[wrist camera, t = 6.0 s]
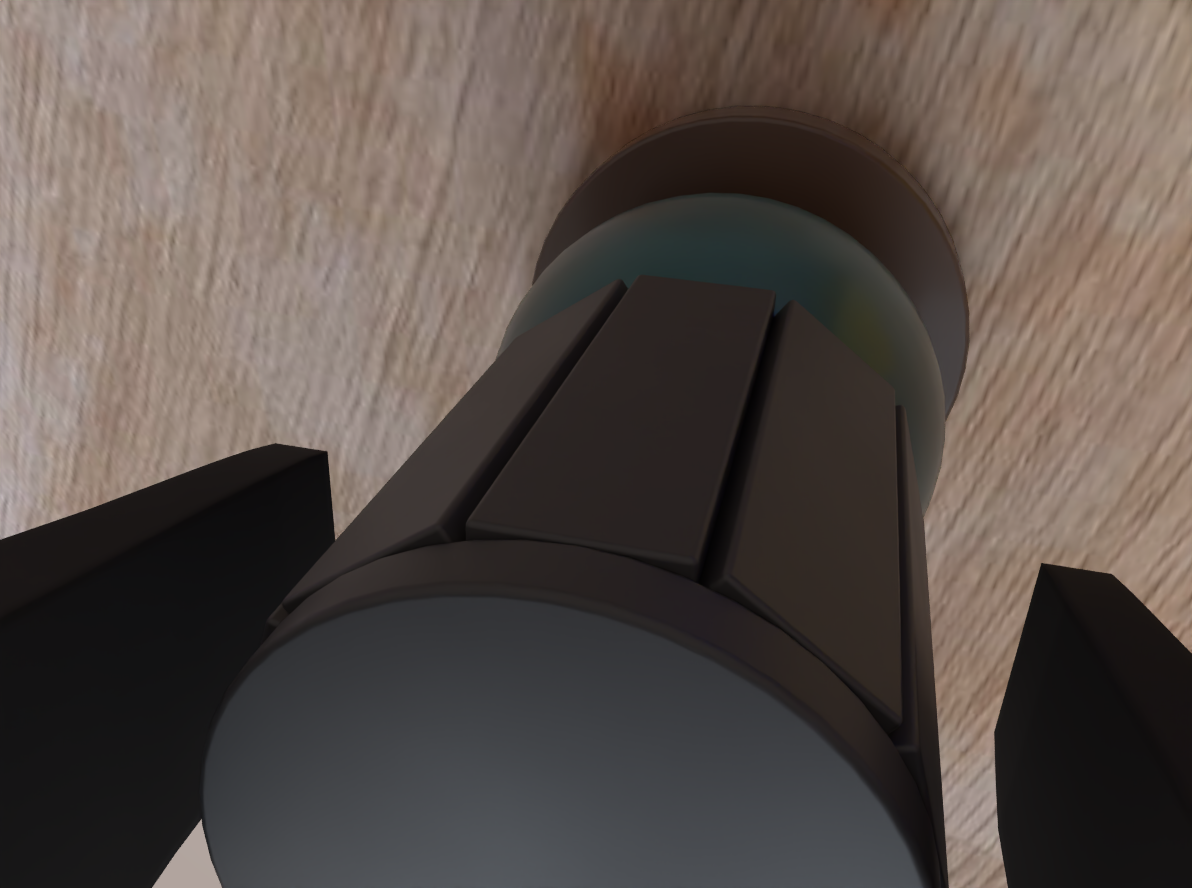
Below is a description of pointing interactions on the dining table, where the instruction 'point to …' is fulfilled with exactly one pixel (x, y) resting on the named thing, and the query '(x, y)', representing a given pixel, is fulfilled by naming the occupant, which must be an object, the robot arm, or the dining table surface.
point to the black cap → (610, 630)
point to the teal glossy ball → (778, 244)
